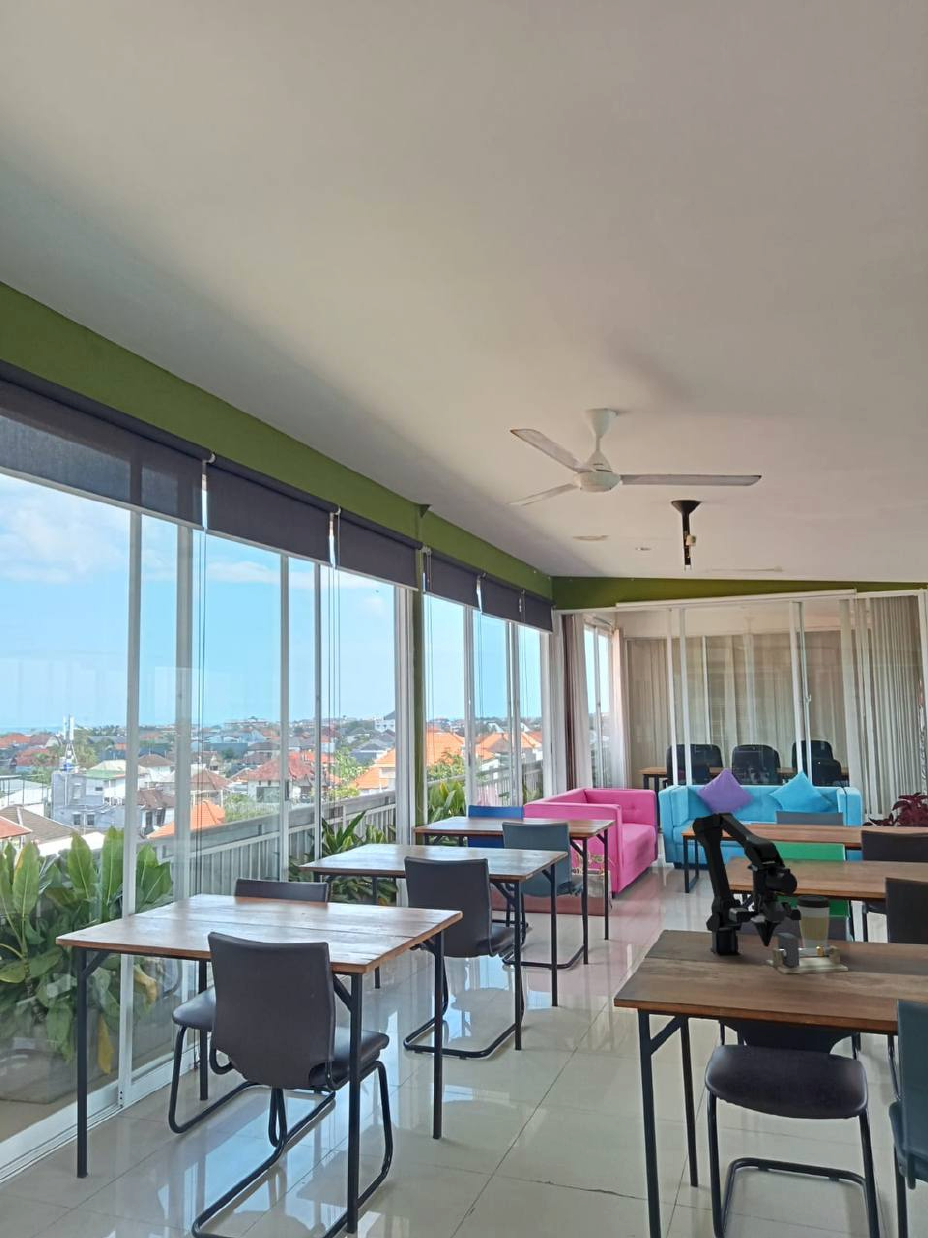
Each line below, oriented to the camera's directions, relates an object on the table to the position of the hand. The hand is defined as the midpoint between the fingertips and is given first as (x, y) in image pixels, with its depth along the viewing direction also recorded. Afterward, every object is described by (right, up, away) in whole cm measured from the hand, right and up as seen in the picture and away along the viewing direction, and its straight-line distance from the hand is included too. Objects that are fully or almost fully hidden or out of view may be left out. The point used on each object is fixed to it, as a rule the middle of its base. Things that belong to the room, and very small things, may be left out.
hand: (766, 946), depth 252 cm
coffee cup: (+20, -8, +18) cm, 28 cm away
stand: (+11, -6, +1) cm, 13 cm away
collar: (+6, -5, 0) cm, 8 cm away
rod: (+11, -3, +1) cm, 12 cm away
